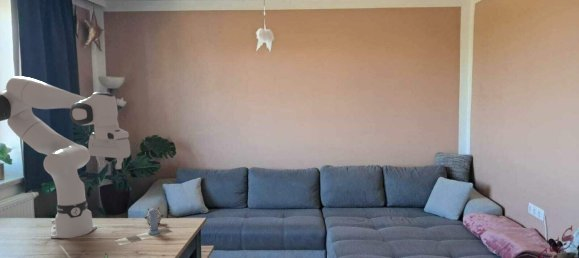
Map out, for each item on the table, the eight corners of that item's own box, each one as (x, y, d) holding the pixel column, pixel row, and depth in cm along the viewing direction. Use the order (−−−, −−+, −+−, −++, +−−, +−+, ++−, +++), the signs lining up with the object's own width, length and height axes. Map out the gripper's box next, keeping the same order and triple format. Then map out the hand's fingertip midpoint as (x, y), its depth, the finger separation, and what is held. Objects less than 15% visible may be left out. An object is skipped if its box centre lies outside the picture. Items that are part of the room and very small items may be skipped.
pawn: (147, 233, 181) (145, 208, 179) (157, 230, 184) (155, 206, 182) (151, 236, 177) (149, 210, 176) (161, 233, 180) (159, 208, 179)
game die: (156, 233, 194) (156, 221, 187) (141, 226, 195) (139, 214, 188) (167, 219, 200) (167, 206, 194) (152, 212, 202) (151, 200, 195)
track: (114, 243, 173) (114, 240, 173) (166, 230, 188) (166, 227, 187) (120, 248, 168) (120, 245, 168) (172, 234, 182) (172, 231, 182)
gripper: (82, 133, 164) (85, 167, 166) (118, 135, 154) (121, 171, 156) (96, 131, 170) (99, 164, 171) (131, 133, 160) (134, 168, 162)
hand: (110, 168), depth 164 cm, fingers open, 8 cm apart
